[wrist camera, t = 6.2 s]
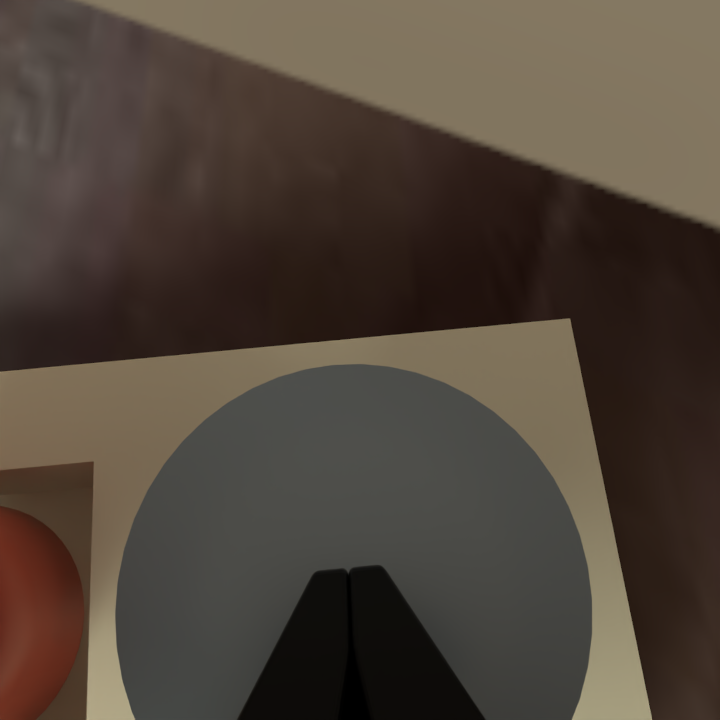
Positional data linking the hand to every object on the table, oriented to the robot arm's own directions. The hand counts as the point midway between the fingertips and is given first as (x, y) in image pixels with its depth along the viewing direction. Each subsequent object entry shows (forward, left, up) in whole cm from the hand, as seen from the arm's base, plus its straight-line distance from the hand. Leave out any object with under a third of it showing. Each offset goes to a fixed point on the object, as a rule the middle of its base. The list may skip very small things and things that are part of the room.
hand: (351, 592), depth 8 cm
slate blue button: (0, 0, -6) cm, 6 cm away
